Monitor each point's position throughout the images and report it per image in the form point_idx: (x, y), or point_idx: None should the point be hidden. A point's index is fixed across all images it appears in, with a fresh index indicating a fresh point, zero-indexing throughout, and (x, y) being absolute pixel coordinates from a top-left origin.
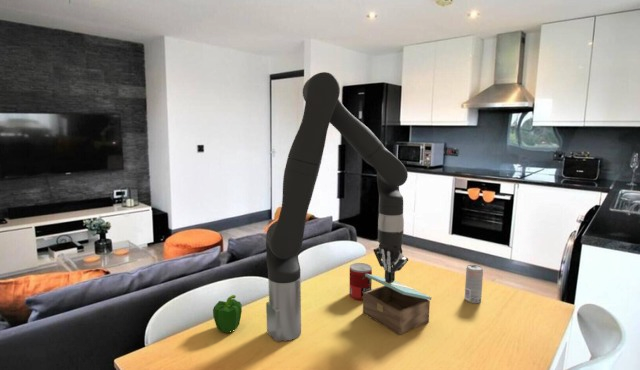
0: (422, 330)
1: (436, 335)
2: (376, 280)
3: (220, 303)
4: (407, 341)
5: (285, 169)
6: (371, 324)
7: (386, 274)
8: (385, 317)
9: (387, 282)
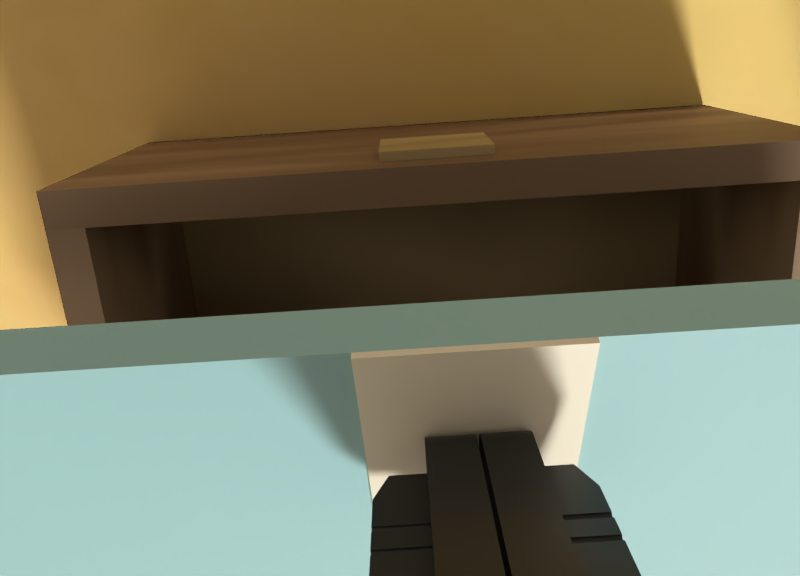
0: None
1: None
2: (704, 299)
3: None
4: (27, 136)
5: None
6: (459, 28)
7: (532, 547)
8: (338, 142)
9: (474, 436)
